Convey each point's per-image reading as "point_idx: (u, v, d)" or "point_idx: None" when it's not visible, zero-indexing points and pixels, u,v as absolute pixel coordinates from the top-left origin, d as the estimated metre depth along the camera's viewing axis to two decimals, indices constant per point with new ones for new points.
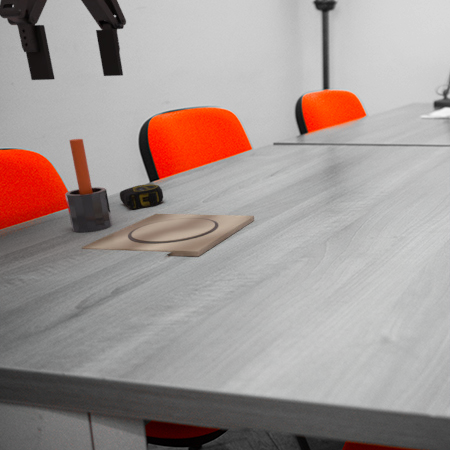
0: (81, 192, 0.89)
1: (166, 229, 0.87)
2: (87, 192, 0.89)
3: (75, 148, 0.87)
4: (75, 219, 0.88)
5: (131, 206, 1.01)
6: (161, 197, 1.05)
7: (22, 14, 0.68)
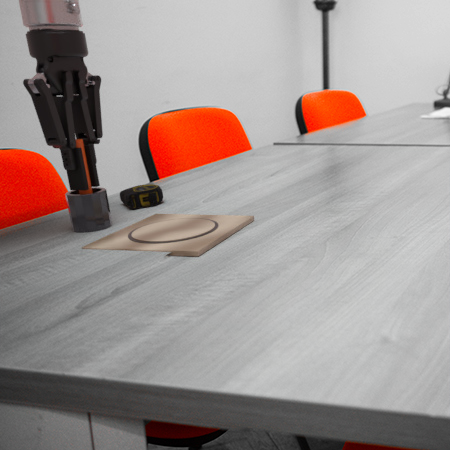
0: (81, 192, 0.89)
1: (166, 229, 0.87)
2: (87, 192, 0.89)
3: None
4: (75, 219, 0.88)
5: (131, 206, 1.01)
6: (161, 197, 1.05)
7: (65, 142, 0.84)
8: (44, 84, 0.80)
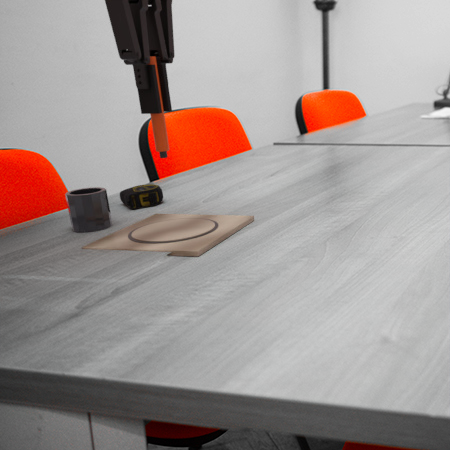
0: (153, 116, 0.80)
1: (166, 229, 0.87)
2: (159, 117, 0.80)
3: None
4: (75, 219, 0.88)
5: (131, 206, 1.01)
6: (161, 197, 1.05)
7: (140, 55, 0.75)
8: None
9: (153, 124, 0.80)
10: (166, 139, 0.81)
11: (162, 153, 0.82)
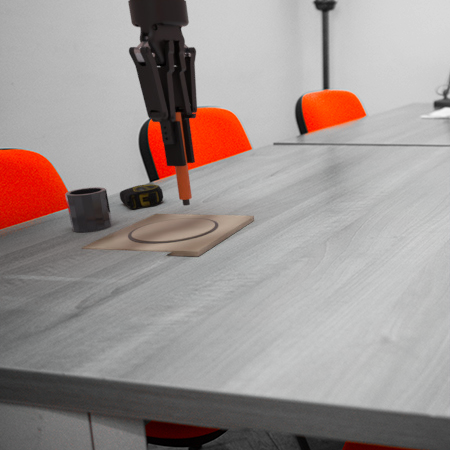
0: (177, 168, 0.85)
1: (166, 229, 0.87)
2: (183, 168, 0.86)
3: None
4: (75, 219, 0.88)
5: (131, 206, 1.01)
6: (161, 197, 1.05)
7: (167, 114, 0.80)
8: (150, 52, 0.76)
9: (177, 175, 0.86)
10: (189, 188, 0.87)
11: (185, 201, 0.87)
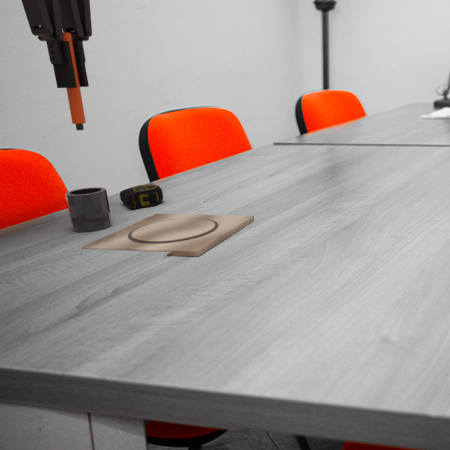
0: (68, 90, 0.84)
1: (166, 229, 0.87)
2: (75, 90, 0.84)
3: None
4: (75, 219, 0.88)
5: (131, 206, 1.01)
6: (161, 197, 1.05)
7: (51, 31, 0.79)
8: None
9: (69, 97, 0.85)
10: (82, 112, 0.86)
11: (78, 125, 0.86)
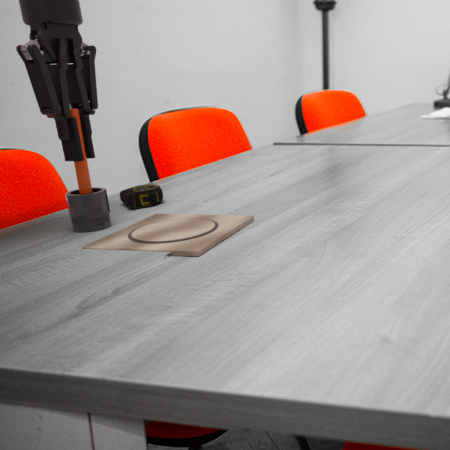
0: (76, 163, 0.88)
1: (166, 229, 0.87)
2: (82, 163, 0.88)
3: (70, 117, 0.86)
4: (75, 219, 0.88)
5: (131, 206, 1.01)
6: (161, 197, 1.05)
7: (59, 111, 0.82)
8: (38, 50, 0.78)
9: (76, 169, 0.88)
10: (89, 183, 0.89)
11: None
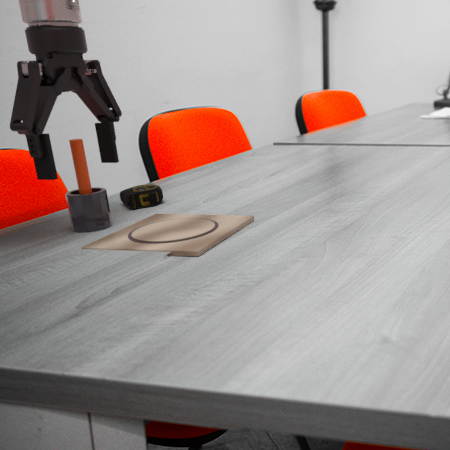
0: (81, 192, 0.89)
1: (166, 229, 0.87)
2: (87, 192, 0.89)
3: (75, 148, 0.87)
4: (75, 219, 0.88)
5: (131, 206, 1.01)
6: (161, 197, 1.05)
7: (30, 128, 0.77)
8: (37, 68, 0.78)
9: None
10: None
11: None
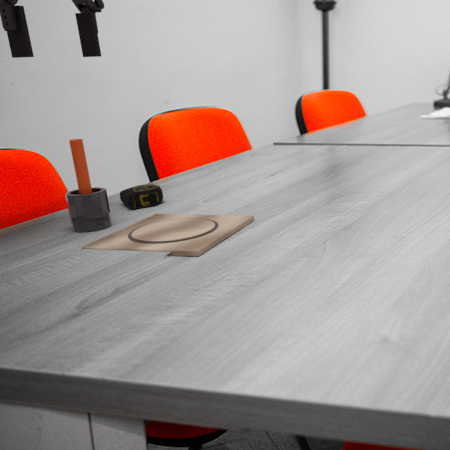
0: (81, 192, 0.89)
1: (166, 229, 0.87)
2: (87, 192, 0.89)
3: (75, 148, 0.87)
4: (75, 219, 0.88)
5: (131, 206, 1.01)
6: (161, 197, 1.05)
7: None
8: None
9: None
10: None
11: None
